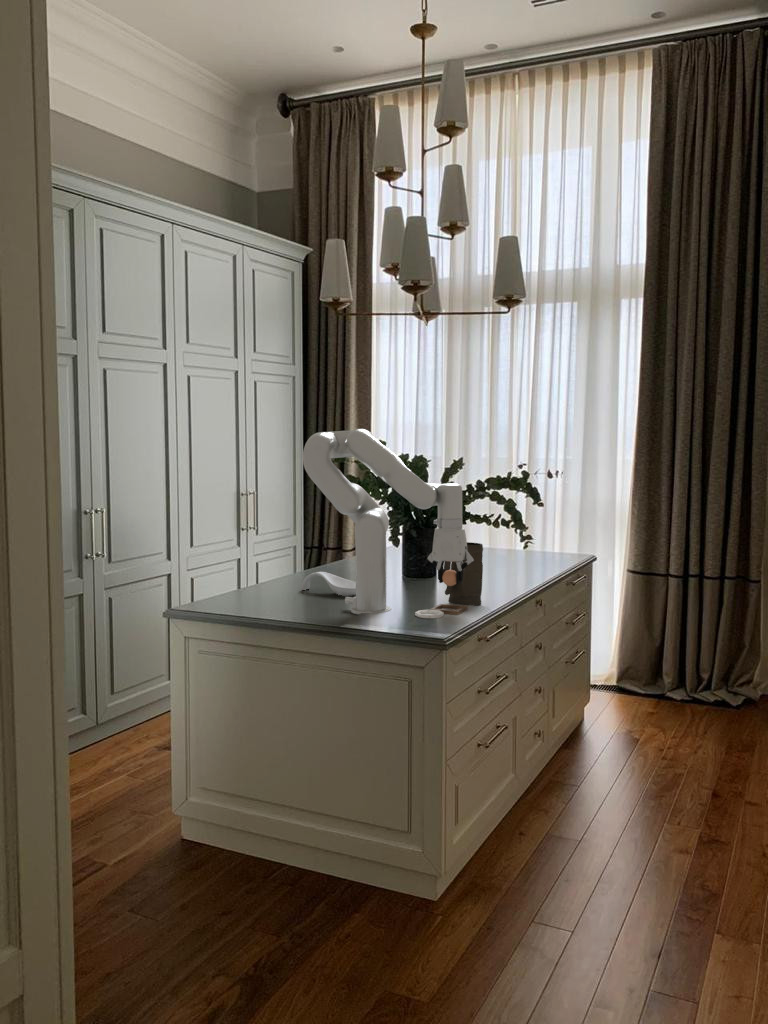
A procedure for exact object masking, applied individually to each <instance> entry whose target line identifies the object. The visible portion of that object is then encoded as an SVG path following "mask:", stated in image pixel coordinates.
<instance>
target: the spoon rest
mask: <svg viewBox="0 0 768 1024" xmlns="http://www.w3.org/2000/svg"><path fill="white" fill-rule="evenodd" d="M314 577H322V578H323V579H324V581H325V582H326V583H327V584H328V586H329V587H330V589H331V590H332V591H333V593H335V594H336V595H337V594H338V595H337V596H339V595H342V596H341V597H352V596H351V595H354V596H356V581H354V580H351V579H347V578H343V577H341V576H338V575H335V574H332V573H329V572H326V571H316V572H312V573H310V574H308V575H307V576H305V577H304V579H303V580H302V584H301V586H300V587H301V588H300V589H301V591H302V590H305V591H307V590H306V589H309V588H310V589H311V582H312V579H313V578H314ZM310 589H309V590H310Z"/></svg>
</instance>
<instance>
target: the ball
mask: <svg viewBox="0 0 768 1024" xmlns="http://www.w3.org/2000/svg"><path fill="white" fill-rule="evenodd" d="M442 579H443V582H442V583H444V585H446V586H447V585H448V586H453V585H455V584H456V571H454V570H451V569H450V570H447V571H445V572H444V574H443V576H442Z"/></svg>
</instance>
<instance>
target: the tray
mask: <svg viewBox="0 0 768 1024" xmlns="http://www.w3.org/2000/svg"><path fill="white" fill-rule="evenodd" d="M429 610H439V611H442V612H444V615H455V616H459V615H460V614H463V613H464V612H466V611H467V610H468V605H459V604H449V603H448V604H447V603H439V604H436V605H435V606H433V607H432V608H430V609H429Z"/></svg>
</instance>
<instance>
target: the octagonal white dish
mask: <svg viewBox="0 0 768 1024" xmlns="http://www.w3.org/2000/svg"><path fill="white" fill-rule="evenodd" d="M414 614H415V616H416V617H417V618H421V619H440V618H443V616H444V615H445V614H444V612H442V611H439V610H430V609H422V610H421V609H420V610H419V609H418V611H415V612H414Z"/></svg>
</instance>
